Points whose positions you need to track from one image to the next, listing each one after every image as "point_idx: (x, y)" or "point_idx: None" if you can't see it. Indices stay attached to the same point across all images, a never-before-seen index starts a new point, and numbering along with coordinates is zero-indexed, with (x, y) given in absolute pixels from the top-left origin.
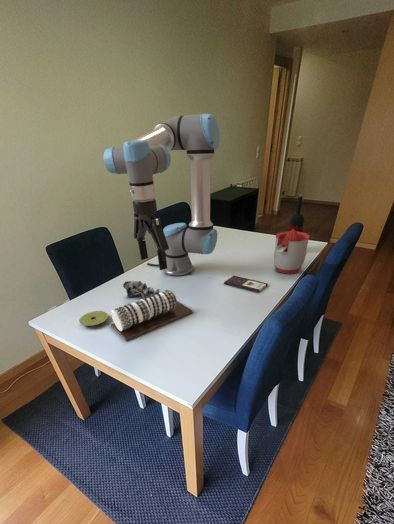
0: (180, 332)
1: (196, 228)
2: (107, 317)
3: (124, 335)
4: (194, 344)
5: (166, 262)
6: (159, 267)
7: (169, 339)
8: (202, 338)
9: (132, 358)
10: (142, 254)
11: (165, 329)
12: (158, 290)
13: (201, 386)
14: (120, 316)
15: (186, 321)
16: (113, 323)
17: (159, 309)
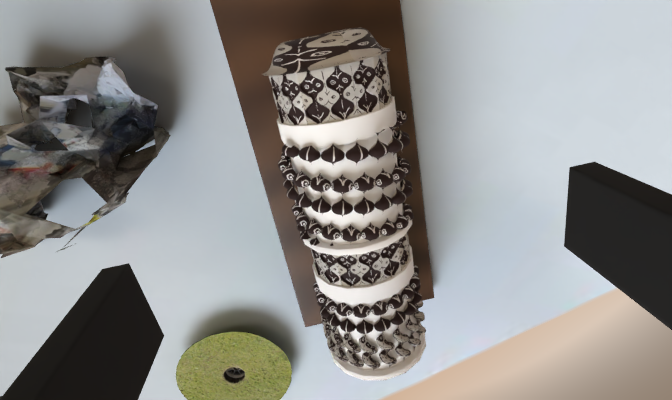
0: (508, 93)
1: None
2: (256, 335)
3: None
4: (617, 76)
5: (657, 191)
6: (586, 260)
7: (520, 153)
8: (611, 23)
9: (530, 291)
10: (133, 372)
11: (447, 142)
12: (106, 61)
13: None
14: (412, 346)
15: (446, 24)
16: (305, 318)
17: (408, 161)
